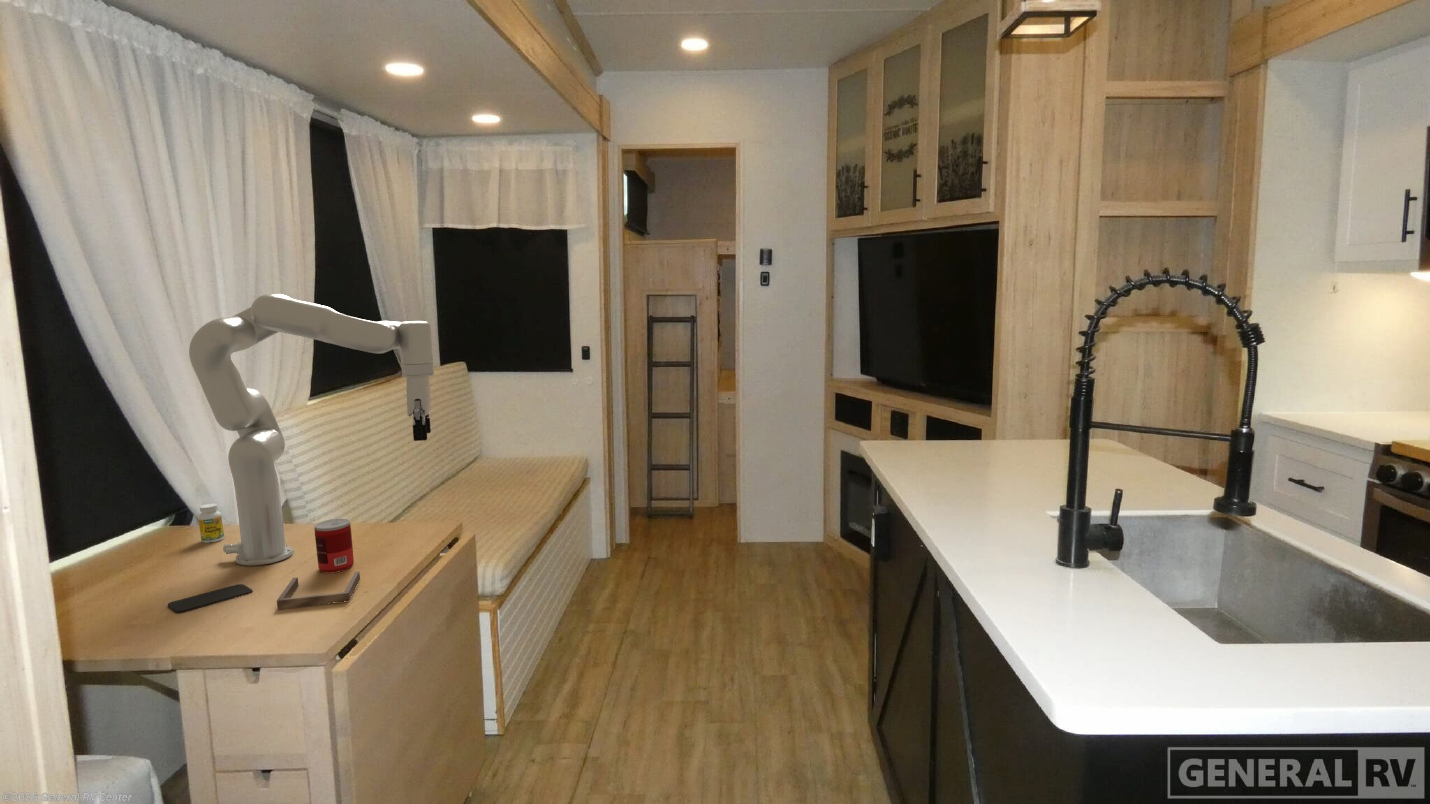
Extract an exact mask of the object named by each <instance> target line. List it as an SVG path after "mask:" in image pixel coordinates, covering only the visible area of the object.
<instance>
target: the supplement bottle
mask: <svg viewBox="0 0 1430 804" xmlns="http://www.w3.org/2000/svg"><path fill="white" fill-rule="evenodd" d="M218 509H219V508H218V504H217V503H207V504H202V505H201V506H199V512H200V514H198V517H197V520H198V525H199V526H198V527H199V534H200V535H199V536H200V539H201V542H202V543H203V544H209V543H210V542H211V543H217V542H219V541H222V540H223V539H225V532H224V524H223V516H222V515H223V514H222V513H221V512H220V511H218Z"/></svg>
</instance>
